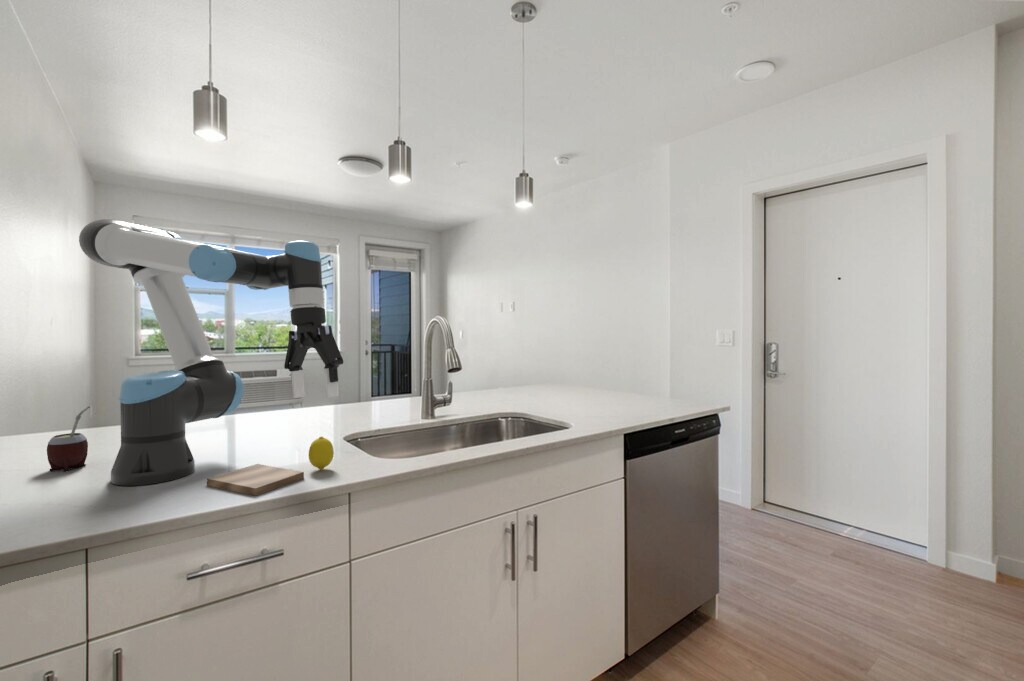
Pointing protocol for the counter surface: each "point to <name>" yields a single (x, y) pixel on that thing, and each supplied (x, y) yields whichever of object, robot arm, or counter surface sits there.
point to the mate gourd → (68, 449)
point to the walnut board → (255, 479)
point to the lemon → (321, 453)
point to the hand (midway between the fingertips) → (315, 397)
